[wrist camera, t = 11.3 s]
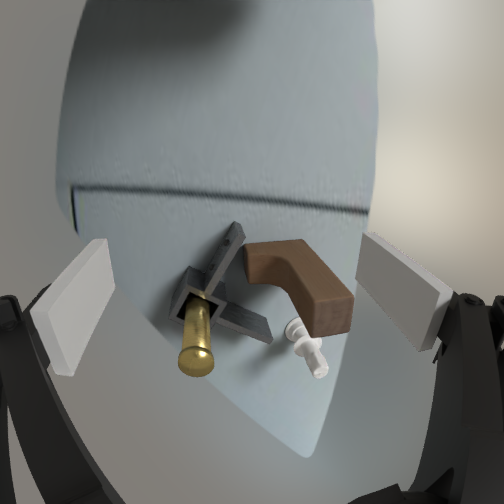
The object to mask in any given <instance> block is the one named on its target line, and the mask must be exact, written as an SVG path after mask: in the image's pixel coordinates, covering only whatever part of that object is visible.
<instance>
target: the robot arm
mask: <svg viewBox="0 0 504 504" xmlns="http://www.w3.org/2000/svg"><path fill="white" fill-rule="evenodd" d="M355 279H356V280H357V281H358V282H359V284H360V285H361V286H362V287H363V288H364V289H365V290H366V291H367V292H368V294H369V295H370V296H371V297H372V298H373V299H374V300H375V301H376V303H377V304H378V305H379V306H380V307H381V308H382V309H383V311H384V312H385V313H386V314H387V315H388V316H389V317H390V319H392V321H393V322H394V323H395V324H396V326H397V327H398V328H399V329H400V330H401V331H402V333H403V334H404V335H405V336H406V337H407V339H409V341H410V342H411V343H412V344H413V345H414V347H415V348H416V349H417V350H418V352H421V351H425V350H428V349H432V347H433V345H434V343H435V340H436V338H437V336H438V337H439V339H440V340H441V341H442V342H441V344H440V347H439V349H438V351H437V354H436V356H435V358H434V360H433V363H435V361H436V360H438V362H437V372H436V381H435V389H434V396H433V402H432V408H431V414H430V420H429V425H428V430H427V435H426V439H425V444H424V448H423V452H422V457H421V460H420V464H419V468H418V471H417V474H416V477H415V480H414V482H413V484H412V485H411V487H410V489H409V490H408V491H401V490H400V488H399V486H398V484H394V485H392V486H389V487H387V488H384V489H381V490H379V491H376V492H373V493H370V494H367V495H364V496H361V497H358V498H357V499H355V500H353V501H351V502H350V503H348V504H504V349H503V350H502V349H501V345H502V343H503V341H504V296H499V295H498V296H496V297H495V300H494V302H493V305H492V306H485V303H484V301H483V300H482V299H480V298H479V297H477V296H475V295H472V294H467V293H465V294H464V293H463V294H460V295H458V294H457V293H456V292H454V291H453V290H452V289H451V288H450V287H448V286H447V285H446V284H445V283H443V282H442V281H441V280H439V279H438V278H437V277H435V276H434V275H433V274H432V273H430V272H429V271H428V270H426V269H425V268H424V267H422V266H421V265H420V264H418V263H417V262H416V261H414V260H413V259H411V258H410V257H409V256H407V255H406V254H404V253H403V252H402V251H400V250H399V249H398V248H396V247H395V246H393V245H392V244H391V243H389V242H387V241H386V240H385V239H383V238H382V237H381V236H379V235H378V234H376V233H375V232H371V233H370V232H363V235H362V241H361V248H360V254H359V260H358V266H357V272H356V277H355ZM114 290H115V284H114V279H113V273H112V268H111V262H110V256H109V249H108V243H107V239H93V240H92V241H91V242H90V243H89V244H88V245H87V246H86V247H85V248H84V249H83V250H82V252H81V253H80V254H79V255H78V256H77V257H76V258H75V259H74V260H73V261H72V262H71V263H70V264H69V266H68V267H67V268H66V269H65V270H64V271H63V272H62V273H61V274H60V275H59V277H58V278H57V279H56V280H55V281H54V282H53V283H52V284H49V285H48V286H46V287H45V288H43V289H42V290H41V291H40V293H38V295H37V297H35V298H34V299H33V300H32V302H31V303H30V304H29V306H27V308H26V309H25V310H24V311H23V313H22V311H21V308H20V305H19V302H18V299H17V298H16V296H13V295H5V296H1V297H0V504H16V499H15V493H14V488H13V481H12V475H11V466H10V457H9V443H8V419H7V418H8V416H7V406H8V407H9V411H10V414H11V417H12V421H13V424H14V427H15V431H16V434H17V437H18V440H19V443H20V446H21V448H22V451H23V454H24V456H25V459H26V461H27V464H28V467H29V469H30V471H31V474H32V476H33V478H34V480H35V483H36V485H37V487H38V489H39V491H40V493H41V495H42V497H43V499H44V501H45V504H126V503H125V502H124V501H123V499H122V498H121V497H120V496H119V494H118V493H117V492H116V490H115V489H114V488H113V486H112V485H111V484H110V482H109V481H108V479H107V478H106V477H105V475H104V474H103V472H102V471H101V469H100V468H99V466H98V465H97V463H96V462H95V461H94V459H93V457H92V456H91V454H90V453H89V451H88V449H87V448H86V446H85V444H84V443H83V441H82V439H81V438H80V436H79V434H78V432H77V431H76V429H75V427H74V425H73V423H72V421H71V420H70V418H69V416H68V414H67V412H66V410H65V408H64V406H63V404H62V402H61V400H60V398H59V396H58V394H57V391H56V389H55V387H54V385H53V383H52V380H51V378H50V376H49V374H48V372H47V368H48V366H49V364H50V363H51V365H52V367H53V369H54V371H55V373H56V374H59V375H65V376H73V375H74V373H75V370H76V368H77V365H78V363H79V361H80V359H81V356H82V354H83V352H84V350H85V348H86V346H87V344H88V341H89V339H90V337H91V335H92V333H93V331H94V328H95V327H96V325H97V322H98V321H99V319H100V317H101V314H102V313H103V311H104V309H105V307H106V305H107V303H108V301H109V299H110V297H111V295H112V293H113V291H114Z"/></svg>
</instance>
